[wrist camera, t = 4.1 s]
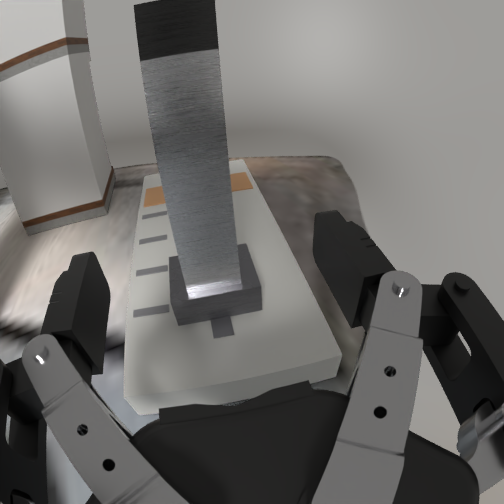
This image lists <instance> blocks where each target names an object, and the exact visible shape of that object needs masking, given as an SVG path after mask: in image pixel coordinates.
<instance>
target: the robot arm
mask: <svg viewBox="0 0 504 504" xmlns="http://www.w3.org/2000/svg"><path fill="white" fill-rule="evenodd" d="M313 255H314V259H315V262H316V264H317V266H318V268H319V270H320V271H321V273H322V275H323V277H324V279H325V280H326V282H327V284H328V286H329V288H330V290H331V291H332V293H333V295H334V297H335V299H336V301H337V302H338V304H339V306H340V308H341V310H342V312H343V314H344V316H345V317H346V319H347V321H348V323H349V325H350V327H351V328H355V327H358V326H363V328H364V329H365V333H364V336H363V339H362V343H361V347H360V350H359V354H358V357H357V360H356V364H355V367H354V370H353V374H352V377H351V380H350V383H349V385H348V388H347V391H346V394H345V395H344V394H341V393H337V392H334V391H328V390H319V389H312V387H311V385H310V382H309V380H307V381H303V382H299V383H295V384H291V385H287V386H283V387H279V388H275V389H271V390H269V391H267V392H265V393H263V394H261V395H259V396H257V397H255V398H253V399H250V400H248V401H246V402H244V403H242V404H239V405H236V406H223V405H207V404H189V405H182V406H175V407H167V408H159V418H160V419H157V420H155V421H153V422H151V423H149V424H147V425H146V426H144V427H143V428H141V429H140V430H139V431H138V432H136V433H135V434H134V435H133V433H132V432H131V431H130V430H129V429H128V428H127V427H126V426H125V425H124V424H123V423H122V422H121V420H120V419H119V418H118V417H117V416H116V415H115V413H114V412H113V411H112V410H111V408H110V407H109V406H108V405H107V403H106V402H105V401H104V400H103V398H102V397H101V396H100V394H99V393H98V392H97V391H96V389H95V388H94V387H93V385H92V384H91V377H92V375H97V374H103V363H104V351H105V341H106V331H107V322H108V314H109V307H110V289H109V285H108V283H107V280H106V278H105V276H104V274H103V271H102V269H101V267H100V264H99V262H98V260H97V257H96V255H95V254H94V252H88V253H83V254H78V255H74V256H73V257H72V260H71V263H70V266H69V269H68V271H64V272H63V273H62V274H61V275H60V277H59V278H58V279H57V281H56V282H55V285H54V289H53V292H52V295H51V298H50V301H49V302H50V304H49V305H48V308H47V312H46V315H45V319H44V322H43V326H42V330H41V333H40V335H39V336H37V337H35V338H33V339H32V340H31V341H30V342H29V343H28V344H27V345H26V347H25V349H24V351H23V354H22V357H21V358H19V359H17V360H14V361H12V362H10V363H7V364H4V363H3V361H2V360H1V359H0V504H48V493H47V471H46V432H47V424H48V426H49V428H50V429H51V431H52V433H53V434H54V436H55V438H56V439H57V441H58V443H59V444H60V446H61V447H62V449H63V451H64V452H65V454H66V455H67V457H68V458H69V460H70V461H71V463H72V464H73V466H74V467H75V469H76V470H77V472H78V473H79V474H80V476H81V477H82V479H83V480H84V481H85V483H86V484H87V485H88V487H89V488H90V489H91V491H92V492H93V494H92V495H91V496H90V498H89V499H88V501H87V502H86V504H479V495H480V494H481V493H483V492H484V491H486V490H487V489H489V488H490V487H492V486H493V485H495V484H496V483H497V482H499V481H500V480H502V479H503V478H504V321H503V320H502V318H501V317H500V315H499V314H498V313H497V311H496V310H495V308H494V307H493V306H492V304H491V303H490V302H489V300H488V299H487V297H486V296H485V295H484V293H483V292H482V291H481V290H480V288H479V287H478V286H477V284H476V283H475V282H474V281H473V280H472V279H471V278H469V277H468V276H466V275H464V274H461V273H456V272H455V273H449V274H447V275H446V276H445V277H444V279H443V281H442V284H441V285H426V284H420V282H419V281H418V279H416V278H415V277H414V276H413V275H411V274H409V273H407V272H403V271H396V269H395V268H394V267H393V265H392V264H391V263H390V262H389V260H388V259H387V258H386V257H385V255H384V254H383V253H382V251H381V250H380V249H379V248H378V246H376V244H375V243H374V241H373V240H372V239H370V236H369V235H368V234H367V233H366V231H365V230H364V229H363V228H362V227H360V226H358V225H357V224H355V223H353V222H352V221H350V222H346V220H345V219H344V218H343V217H342V215H341V214H340V213H339V212H338V211H337V210H333V211H326V212H320V213H316V215H315V222H314V237H313ZM459 331H460V332H461V334H462V336H463V337H464V339H465V341H466V342H467V344H468V346H469V347H470V350H471V356H470V354H469V353H468V351H467V349H466V348H465V346H464V344H463V343H462V341H461V339H460V338H459V336H458V332H459ZM422 349H423V351H424V353H425V354H426V356H427V358H428V360H429V362H430V364H431V366H432V367H433V370H434V372H435V374H436V376H437V378H438V379H439V381H440V383H441V385H442V387H443V390H444V392H445V394H446V396H447V398H448V400H449V402H450V404H451V406H452V408H453V410H454V412H455V415H456V417H457V419H458V421H459V423H460V429H459V431H458V443H457V450H458V452H459V453H460V456H458V455H456V454H454V453H452V452H450V451H448V450H446V449H444V448H442V447H440V446H438V445H436V444H434V443H432V442H430V441H428V440H426V439H424V438H422V437H421V436H419V435H417V434H415V433H413V432H411V431H410V430H409V426H410V421H411V417H412V411H413V406H414V401H415V396H416V390H417V384H418V378H419V371H420V364H421V357H422ZM7 414H8V415H9V416H10V417H11V421H10V432H9V445H8V444H7V441H6V437H5V432H6V421H7Z"/></svg>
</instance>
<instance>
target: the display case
mask: <svg viewBox="0 0 504 504" xmlns="http://www.w3.org/2000/svg"><path fill="white" fill-rule="evenodd" d="M90 61H91V58H90V52H89V45H88V37H87V29H86V21H85V12H84V2H83V0H0V167H1V170H2V173H3V176H4V178H5V181H6V184H7V187H8V189H9V192H10V195H11V197H12V200H13V202H14V205H15V207H16V209H17V212H18V214H19V217H20V219H21V221H22V223H23V226H24V228H25V230H26V232H27V235H28V236H29V235H32V234H36V233H39V232H43V231H46V230H50V229H53V228H57V227H61V226H64V225H68V224H72V223H76V222H80V221H83V220H87V219H91V218H95V217H99V216H103V215H107V213H108V208H109V204H110V200H111V196H112V192H113V188H114V184H115V180H116V177H115V173H114V169H113V166H111V165H110V161H109V157H108V153H107V148H106V145H105V140H104V136H103V132H102V127H101V122H100V118H99V114H98V108H97V103H96V98H95V93H94V88H93V82H92V76H91V71H90V65H89V62H90Z"/></svg>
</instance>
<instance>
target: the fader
mask: <svg viewBox="0 0 504 504" xmlns="http://www.w3.org/2000/svg"><path fill="white" fill-rule="evenodd" d="M134 12H135V22H136V31H137V40H138V47H139V56H140V63H141V70H142V77H143V84H144V91H145V97H146V103H147V109H148V115H149V121H150V127H151V132H152V138H153V143H154V149H155V154H156V159H157V164H158V169H159V174H160V179H161V184H162V188H163V193H164V198H165V202H166V207H167V211H168V216H169V220H170V224H171V229H172V233H173V237H174V241H175V245H176V250H177V254H178V256H173V257H169V282H170V303H171V306H172V309H173V312H174V315H175V318H176V321H177V323H178V326H181V325H187V324H192V323H198V322H204V321H209V320H215V319H220V318H225V317H231V316H236V315H241V314H246V313H251V312H256V311H261V310H262V291H261V284H260V281H259V278H258V275H257V272H256V269H255V267H254V264H253V261H252V258H251V255H250V252H249V249H248V247H247V244H246V243H245V244H239V245H237V238H236V228H235V218H234V208H233V199H232V189H231V178H230V168H229V158H228V148H227V138H226V127H225V116H224V105H223V94H222V83H221V71H220V59H219V48H218V36H217V24H216V11H215V0H158V1H152V2H147V3H142V4H137V5H134Z"/></svg>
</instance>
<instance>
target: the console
mask: <svg viewBox="0 0 504 504" xmlns="http://www.w3.org/2000/svg"><path fill="white" fill-rule="evenodd" d="M229 168H230V178H231V189H232V199H233V208H234V218H235V228H236V238H237V245H239V244H245V243H246V244H247V247H248V249H249V252H250V255H251V258H252V261H253V264H254V267H255V269H256V272H257V275H258V278H259V281H260V284H261V291H262V310H261V311H256V312H251V313H246V314H241V315H236V316H231V317H225V318H220V319H215V320H209V321H204V322H198V323H192V324H187V325H181V326H178V323H177V321H176V318H175V315H174V312H173V309H172V306H171V303H170V282H169V257H173V256H178V254H177V250H176V245H175V241H174V237H173V233H172V229H171V224H170V220H169V216H168V211H167V207H166V202H165V198H164V193H163V188H162V184H161V179H160V174H159V173H157V174H152V175H147V176H145V177H144V182H143V188H142V194H141V200H140V206H139V212H138V218H137V225H136V232H135V239H134V247H133V255H132V264H131V273H130V282H129V293H128V305H127V318H126V335H125V357H124V398H125V399H126V400H127V402H128V403H129V404H130V405H131V406H132V408H133V409H134V410H135V411H136V412H137V413H138V415H149V414H158V413H159V408H167V407H175V406H182V405H189V404H207V405H219V404H225V403H230V402H236V401H241V400H246V399H250V398H255V397H257V396H259V395H261V394H263V393H265V392H267V391H269V390H271V389H275V388H279V387H283V386H287V385H291V384H295V383H299V382H303V381H307V380H309V382H310V384H312V383H316V382H319V381H323V380H326V379H330V378H333V377H336V374H337V371H338V368H339V365H340V361H341V358H342V352H341V350H340V348H339V346H338V344H337V342H336V340H335V338H334V336H333V334H332V332H331V329H330V327H329V325H328V323H327V321H326V319H325V317H324V315H323V313H322V311H321V309H320V307H319V305H318V303H317V301H316V299H315V297H314V295H313V293H312V291H311V289H310V287H309V285H308V283H307V281H306V279H305V277H304V275H303V273H302V271H301V269H300V267H299V265H298V263H297V261H296V259H295V257H294V255H293V253H292V251H291V249H290V247H289V245H288V243H287V241H286V239H285V238H284V236H283V234H282V232H281V230H280V228H279V226H278V224H277V222H276V220H275V218H274V216H273V215H272V213H271V211H270V209H269V207H268V205H267V203H266V201H265V199H264V197H263V196H262V194H261V192H260V190H259V188H258V186H257V184H256V182H255V181H254V179H253V177H252V175H251V173H250V171H249V169H248V168H247V166H246V164H245V162H244V160H243V159H241V160H234V161H229Z"/></svg>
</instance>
